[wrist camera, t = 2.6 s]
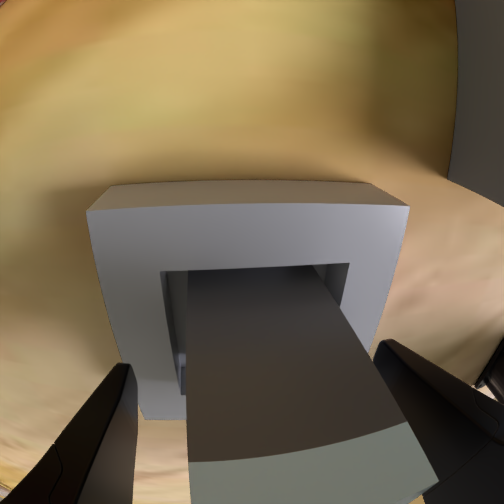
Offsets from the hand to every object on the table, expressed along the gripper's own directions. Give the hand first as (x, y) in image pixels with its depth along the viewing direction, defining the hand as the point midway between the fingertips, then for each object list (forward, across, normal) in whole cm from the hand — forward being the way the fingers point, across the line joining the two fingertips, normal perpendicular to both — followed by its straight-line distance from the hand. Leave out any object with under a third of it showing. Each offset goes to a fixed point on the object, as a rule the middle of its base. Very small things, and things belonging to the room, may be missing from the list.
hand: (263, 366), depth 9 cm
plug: (+3, 0, 0) cm, 3 cm away
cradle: (+4, 0, 0) cm, 4 cm away
